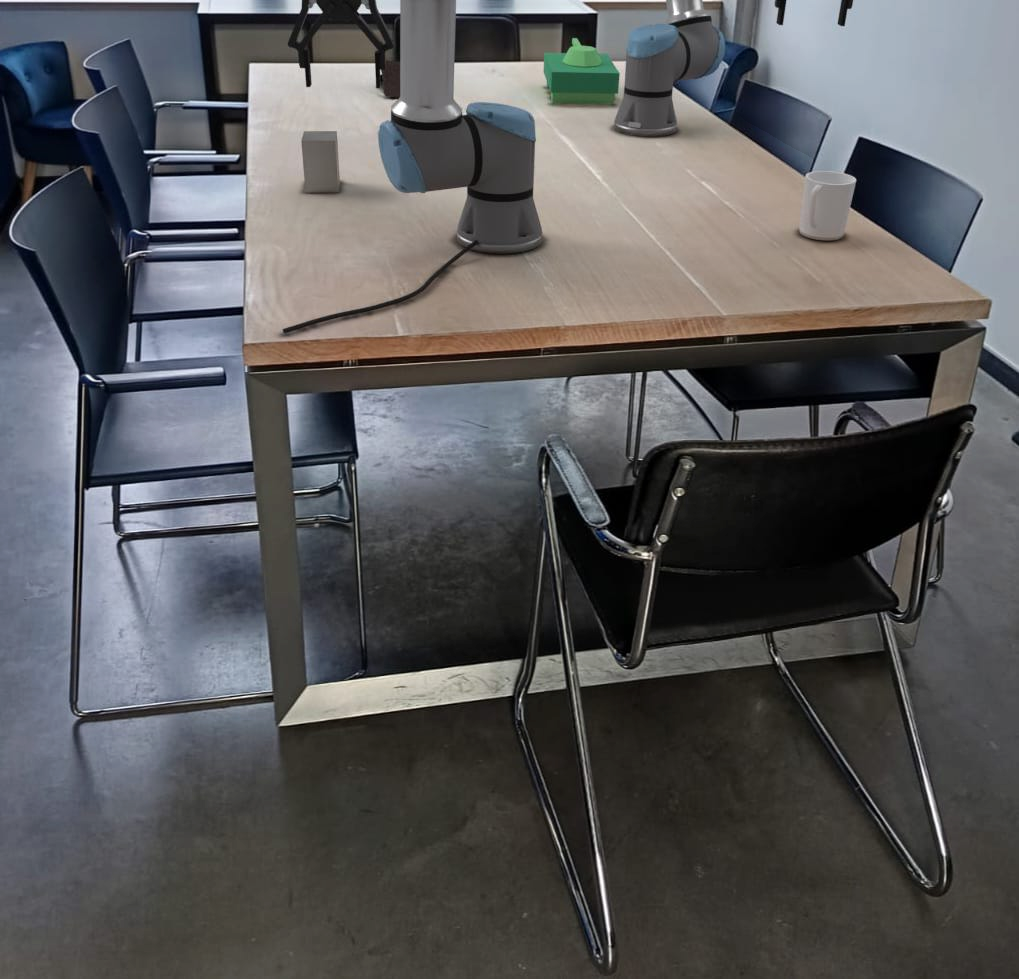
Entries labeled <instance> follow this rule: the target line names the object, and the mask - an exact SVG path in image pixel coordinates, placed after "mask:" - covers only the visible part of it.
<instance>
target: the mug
mask: <svg viewBox="0 0 1019 979" xmlns="http://www.w3.org/2000/svg"><path fill="white" fill-rule="evenodd" d="M856 183H857V178H856V177H855V176H853V175H851V174H848V173H844V172H840V171H832V170H816V171H809V172H807V173H806V174H805V177H804V184H803V194H802V203H801V212H800V219H799V228H798V232H799V234H800V235H802V236H803V237H805V238H809V239H812V240H817V241H836V240H840V239H842V238H843V237H844V236H845V230H846V227H847V221H848V217H849V215H850V214H849V213H850V209H851V205H852V201H853V196H854V193H855V189H856Z"/></svg>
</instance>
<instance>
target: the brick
mask: <svg viewBox="0 0 1019 979" xmlns="http://www.w3.org/2000/svg"><path fill="white" fill-rule="evenodd" d="M300 143H301V153H302V167H303V179H304V192H305V194H312V193H313V194H319V193H320V194H321V193H322V194H323V193H332V194H333V193H339V192H340V185H341V176H340V162H339V161H340V159H339V144H338V131H337V130H304V131H303V133H302V137H301V142H300Z"/></svg>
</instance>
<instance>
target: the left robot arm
mask: <svg viewBox="0 0 1019 979" xmlns="http://www.w3.org/2000/svg"><path fill="white" fill-rule="evenodd" d="M399 2H400V4H399V6H400V7H399V13H400V14H399V15H400V16H399V21H400V22H399V25H400V26H399V29H400V30H399V31H400V32H399V33H400V34H399V36H400V37H399V38H400V39H399V40H400V41H399V42H400V43H399V44H400V45H399V46H400V47H399V49H400V50H399V54H400V56H399V57H400V58H399V59H400V60H399V62H400V98H397V100H395V101H394V102H393V103H392V104H391V106H390V120H388V119H387V120H385V121H383V122H381V124H380V125H379V129H378V131H377V133H378V134H377V138H378V148H379V154H380V159H381V162H382V166H383V168H384V171H385V174H386V176H387V178H388V180H389V182H390V183H391V185H392V187H394V188H395V190H397V191H398V192H400V193H403V194H413V193H416V194H417V193H420V194H426V193H429V192H437V191H444V190H452V189H461V188H466V192H467V193H466V198H465V202H464V205H463V209H462V211H461V214H460V218H459V220H458V224H457V228H456V241H457V243H458V244H459V245H461V246H462V247H464V248H463V249H462V250H460V251H459V252H458V253H456V254H455V255H454V256H452V257H451V258H450V259H449V260H448V261H447V262H446V263H444V264H443V265H442V266H441V267H440V268H439V269H438V270H437V271H435V272H434V273H433V274H432V275H431V276H430V277H429V278H428V279H427V280H426V281H425V282H424V283H423V285H421V286H420V287H419V288H418V289H416V290H413V291H412V292H411V293H408V294H406V295H403V296H401V297H398V298H395V299H391V300H388V301H384V302H381V303H378V304H374V305H370V306H366V307H361V308H356V309H349V310H345V311H341V312H336V313H332V314H328V315H324V316H320V317H317V318H314V319H310V320H307V321H304V322H300V323H297V324H294V325H291V326H287V327H285V328H282V333H283V334H288V333H291V332H295V331H299V330H302V329H305V328H307V327H310V326H314V325H317V324H321V323H324V322H328V321H331V320H335V319H339V318H345V317H350V316H356V315H359V314H363V313H369V312H372V311H377V310H379V309H383V308H386V307H390V306H394V305H397V304H400V303H402V302H407V301H408V300H410V299H412V298H414V297H416V296H418V295H419V294H421V293H423V292H424V291H425V290H426V289H427V288H428V287H429V286H431V284H432V282H433V281H435V280H436V279H437V278H438V277H439V276H440V275H441V274H442V273H443V272H444V271H445V270H447V269H448V268H449V267H450V266H451V265H452V264H454V263H455V262H456V261H458V260H459V259H460V258H461V257H462V256H464V255H465V254H467V253H468V252H469V251H475V252H479V253H486V254H497V255H499V254H500V255H506V254H507V255H508V254H517V253H524V252H527V251H530V250H533V249H536V248H538V247H539V246H540V245H541V244H542V243H543V229H542V224H541V221H540V220H541V219H540V218H539V214H538V213H539V212H538V210H537V206H536V204H535V199H534V184H535V158H536V156H535V155H536V142H537V137H536V121H535V118H534V116H533V114H532V113H530V112H529V111H527V110H526V109H523V108H521V107H518V106H514V105H510V104H503V103H497V102H487V101H476V102H470V103H468V105H467V106H466V109H465V114H463V109H462V107H461V106H460V105H459V104H458V103H457V101H456V100H455V99H454V94H455V93H454V91H455V90H454V88H455V59H456V58H455V57H456V55H455V53H456V18H457V13H456V12H457V0H399ZM315 4H316V5H317V7H318V8H319V9H320V11H321V14H320V15H319V17H318V18H317V19H316V20H315V22H314V23H313V24H312V26H311V27H310V28H309V30H308V31H307V33H306V34H305V36H304V37H303V38H302V39H301V41H299V40H298V38H299V35H300V33H301V31H302V28H303V25H304V23H305V20H306V18H307V15H308V13H309V10H310V9H312V8H313V7H314V5H315ZM362 5H363V6H364V7H365V9H366V10H369V12H370V15H371V16H372V19H373V21H374V23H375V25H376V26H377V29H378V31H379V32H380V34H381V37H382V39H383V40H384V42H383V41H382V40H381V38H379V36H378V35H377V34H376V33H375V31H374V30H373V29H372V28H371V27H370V26H369V24H368V23H367V22H366V20H365V19H364V18H363V16H362V15H361V14H360V12H359V9H360V8H361V6H362ZM326 20H329V22H331V23H333V22H334V23H335V22H342V23H349V22H350V21H353V23H354V24H355V25H357V27H358V28H359V29H360V30H361V32H362V33H363V34H364V36H366V37H367V39H368V40H369V41H370V42H371V43H372V45H373V46H374V48H376V50H375V51H374V70H375V72H374V73H375V89H381V77H380V75H381V70H384V69H385V66H386V52H387V51H389V50H392V49H394V47H395V41H394V39H393V36H392V35H391V33H390V31H389V29H388V27H387V24H386V23H385V21H384V19H383V17H382V15H381V13H380V11H379V9H378V6H377V0H301V9H300V11H299V13H298V16H297V18H296V21H295V23H294V26H293V29H292V31H291V33H290V37H289V38H288V41H287V46H288V47H289V48H293V49H295V50H296V51H297V56H298V57H297V58H298V66H299V68H300V69H304V77H305V87H306V88H311V86H312V84H313V83H312V69H311V54H310V49H309V48H306V47H307V45H308V44H309V43H310V42H311V41H312V39H313V38H314V36H315V35H316V34H317V32H318V31H319V29H320V28H321V27H322V25H324V23H325V21H326Z"/></svg>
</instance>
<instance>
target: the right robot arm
mask: <svg viewBox="0 0 1019 979" xmlns="http://www.w3.org/2000/svg"><path fill="white" fill-rule="evenodd" d="M703 1H704V0H665V2H666V10H667V19H666V21H665V22H664V23H655V24H645V25H642V26H638V27H636V28H634V29H632V30H631V32H629V34H628V38H627V45H626V48H625V54H626V55H625V71H624V72H625V73H624V87H623V97H622V99H621V102H620V104H619V107H618V110H617V113H616V115H615V118H614V122H613V128H614V130H615V131H617V132H619V133H620V134H625V135H629V136H636V137H664V136H669V135H672V134H675V133H676V132H677V129H678V128H677V127H678V121H677V116H676V111H675V107H674V101H673V90H674V82H681V81H687V80H698V79H702V78H703V77H708V76H710V75H712V74H714V73H715V72H716V70H718V69H719V68H720V65H721V63H722V62H723V59H724V57H725V53H726V41H725V37H724V34H723V32H722V31H721V30H720V28H719V27H717V26H715V25H713V20H712V19H713V18H712V14H711V13H710V12H708V11H707V10H706V9H705V8H704V2H703ZM853 3H854V0H840V7H839V13H838V18H837V25H838V26H840V27H845V26H846V21H847V14H848V10H851V9H852V8H853V5H854V4H853ZM774 7H775V8H776V9H777V15H776V22H775V23H776V24H777V25H779V26H784V20H785V15H786V14H785V13H786V7H787V0H774Z"/></svg>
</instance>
